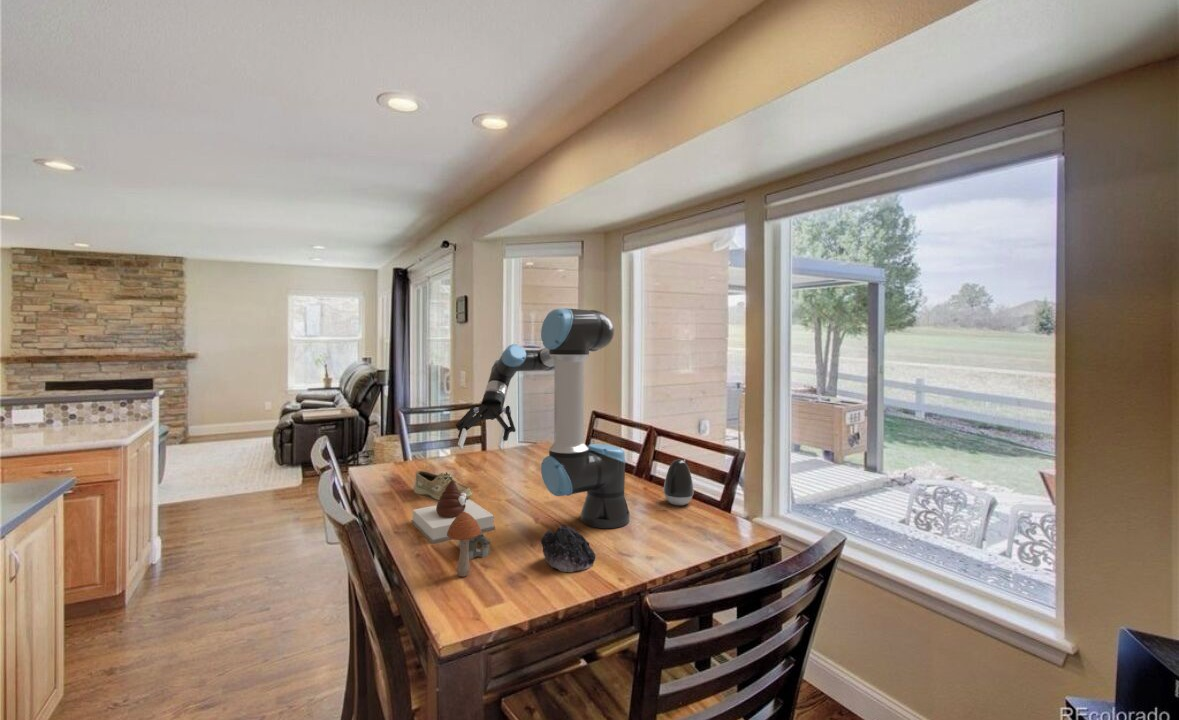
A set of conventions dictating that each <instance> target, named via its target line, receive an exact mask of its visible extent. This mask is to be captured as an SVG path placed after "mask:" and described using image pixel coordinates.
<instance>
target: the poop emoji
mask: <svg viewBox="0 0 1179 720" xmlns="http://www.w3.org/2000/svg"><path fill="white" fill-rule="evenodd" d="M466 500H468V498H467V495H466V494H465V493H460V492H459V490H458V489H457V486H456V484H455V482H454V481H450V483H449V484H448V485H447V487H446V488H445V491H444V492H443V493H442V496H441V497H440V499H439V500H438V501H437V504H436V505H437V507H436V511H437V514H438V515H439V516H441V517H446V518H449V517H457V516H458V515H459V514H461V513H462V512H464V509H465V503H466Z"/></svg>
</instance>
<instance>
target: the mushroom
mask: <svg viewBox="0 0 1179 720" xmlns="http://www.w3.org/2000/svg"><path fill="white" fill-rule="evenodd" d="M480 533H482V532H481V529H480V527H479V525H478V523H477V521H476V520H475V519H474V518H473V517H472V516H471V515H470V514H468V513H466V512H462V513H461V514H459V515H458V516H457V517H456V518H455V519H454V521H453V522H452V523H451V525H450V527H449V529H448V532H447V536H448V537H449V538H450V540H455V541H458V540H460V548H459V557H458V562H457V567H456V572H457V576H458V577H463V578H464V577H467V576H468V575H469V572H470V569H471V566H470V564H471V563H470V559H469V553H468V550H469V539H472V538H475V537H477V536H479V535H480Z"/></svg>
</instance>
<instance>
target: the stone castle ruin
mask: <svg viewBox="0 0 1179 720" xmlns="http://www.w3.org/2000/svg"><path fill="white" fill-rule="evenodd" d="M457 541H458V548H459V549H460V540H457ZM478 544H480V547H481V548H478ZM490 545H491V541H490V539H489V538H488V536H485V535H484V532H481V533H480V535H479V536H477V537H475V538H472V539H469V550H468V553H469V560H474V559H475V558H476V557H481V558H487V557H488V555H490V552H491V548H490Z"/></svg>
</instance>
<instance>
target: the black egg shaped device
mask: <svg viewBox="0 0 1179 720" xmlns="http://www.w3.org/2000/svg"><path fill="white" fill-rule="evenodd" d="M686 462H687V459H686V458H683V459H679V458H677V459H674V460H672V462H671V463H670V465H669V467H668V470H667V472H666V476H665V479H664V483H663V484H664V485H663V494H664V497H665V499H666V501H667V502H668V503H669V504H671V505H674V506H685V505H687V504H689V503H690V502H691V500H692V498H693V496H694V484H693V478H692V473H691V471H690V468H689V466H688V464H687V463H686Z"/></svg>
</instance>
